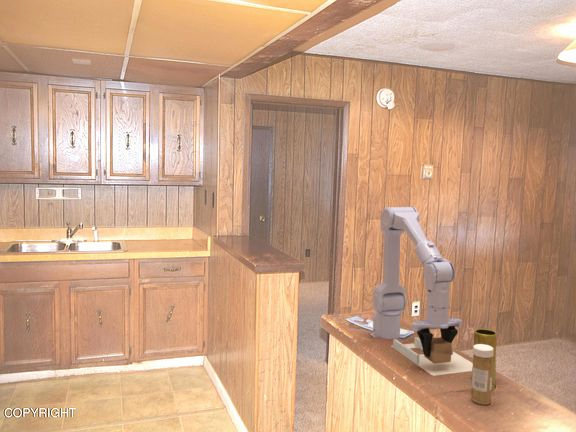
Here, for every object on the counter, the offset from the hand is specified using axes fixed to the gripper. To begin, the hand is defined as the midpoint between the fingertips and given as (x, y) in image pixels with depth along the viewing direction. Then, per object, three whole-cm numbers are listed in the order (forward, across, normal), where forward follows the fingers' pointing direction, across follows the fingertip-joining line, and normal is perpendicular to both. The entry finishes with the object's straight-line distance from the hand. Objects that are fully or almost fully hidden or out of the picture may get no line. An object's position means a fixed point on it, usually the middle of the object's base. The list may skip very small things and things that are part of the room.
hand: (435, 354), depth 138 cm
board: (+5, +4, +6) cm, 9 cm away
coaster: (+3, +8, +9) cm, 12 cm away
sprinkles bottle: (+5, +1, -18) cm, 19 cm away
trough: (+3, 0, +10) cm, 10 cm away
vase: (+5, +7, -11) cm, 14 cm away
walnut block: (+1, 0, -1) cm, 1 cm away
